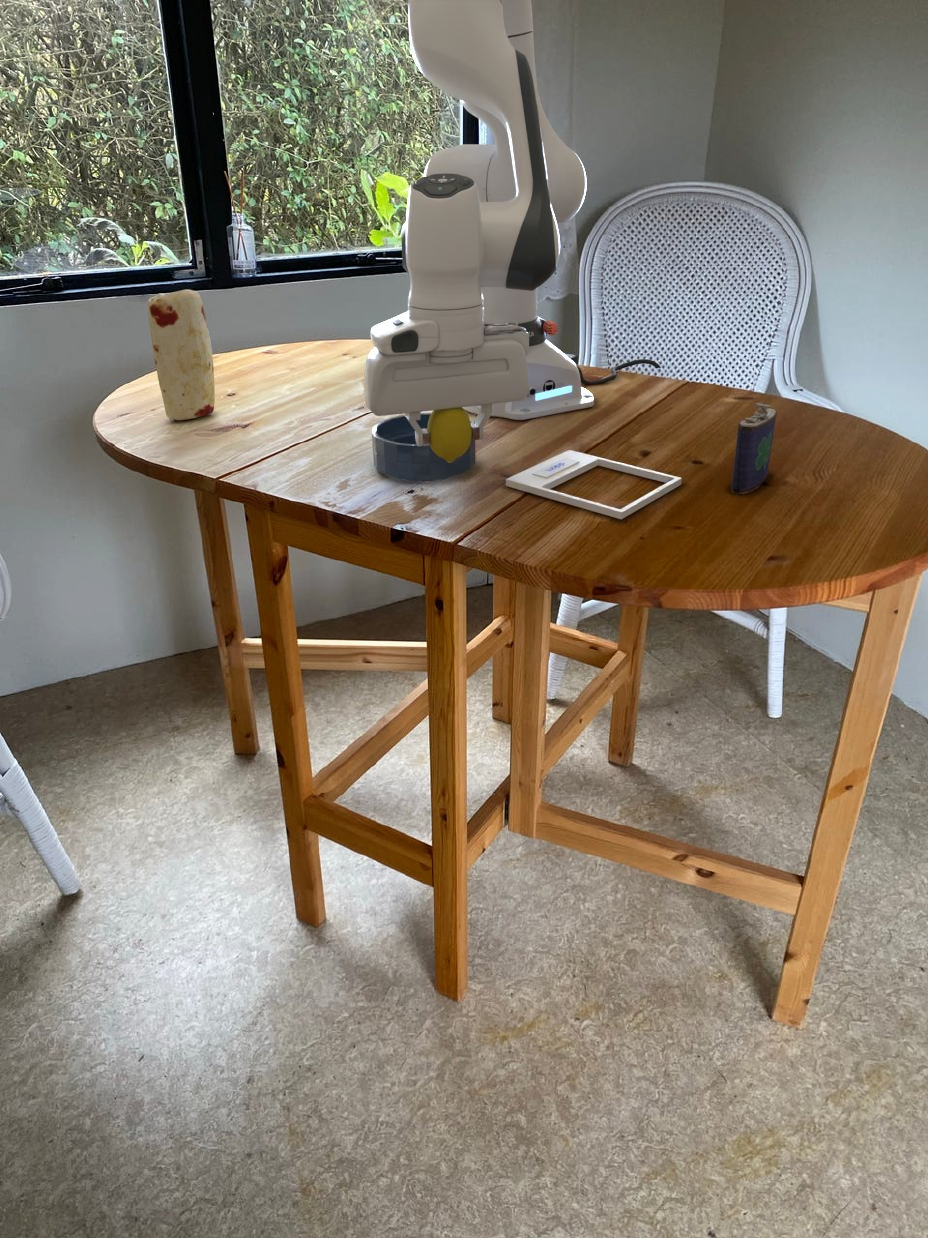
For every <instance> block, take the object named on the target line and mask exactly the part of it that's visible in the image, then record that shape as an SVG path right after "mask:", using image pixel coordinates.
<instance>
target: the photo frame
mask: <svg viewBox="0 0 928 1238" xmlns="http://www.w3.org/2000/svg"><path fill="white" fill-rule="evenodd" d="M598 466H599V467H604V468H607V469H611V470H615V471H618V472H622V473H626V474H631V475H634V476H638V477H641V478H646V479H650V480H654V481H658V482H662V483H664V484H662V485H660V486H658V487H657V488H655V489H654V490H652V491H649V492H648V493H647V494H644V495H642V496H641V497H639V498H638V499H636V500H634V501H632V502H629V504H626V505H625V506H623V507H621V508H616V507H613V506H610V505H607V504H602V503H600V502H597V501H596V502H595V501H592V500H588V499H584V498H581V497H578V496H574V495H571V494H568V493H563V492H560V491H556V490H554V489H553V488H556V487H557V486H559V485H561V484H564V483H565V482H568V481H569V480H571V479H573V478H576V477H578V476H579V475H582V474H584V473H586V472H588V471H589V470H592V469H593V468H596V467H598ZM682 480H683V478H682V477H679V476H675V475H672V474H667V473H664V472H659V471H656V470H652V469H648V468H643V467H639V466H635V465H631V464H627V463H623V462H619V461H615V460H611V459H607V458H603V457H600V456H596V455H591V454H588V453H584V452H580V451H576V450H571V449H569V450H568V449H567V450H566V451H564V452H562V453H559V454H557V455H555V456H553V457H551V458H549V459H546V460H543V461H542V462H540V463H538V464H536V465H532V466H531V467H529V468H527V469H525V470H522V471H521V472H518V473H516V474H513V475H512V476H510V477H507V478H505V486H506V487H509V488H512V489H514V490H515V489H516V490H519V491H522V492H526V493H528V494H529V493H530V494H532V495H536V496H540V497H543V498H546V499H549V500H554V501H557V502H560V503H562V504H563V503H564V504H567V505H570V506H573V507H576V508H577V507H578V508H581V509H585V510H588V511H590V512H594V513H598V514H601V515H605V516H609V517H612V518H615V519H618V520H623V519H625V518H626V517H628V516H630V515H632V514H633V513H635V512H637V511H638V510H640V509H642V508H643V507H645V506H647V505H649V504H651V503H652V502H654V501H656V500H657V499H659V498H661V497H662V496H665V495H666V494H668V493H669V492H672V491H673V490H674V489H676V488H678V487H679V486H681V485H682Z"/></svg>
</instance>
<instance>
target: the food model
mask: <svg viewBox="0 0 928 1238" xmlns="http://www.w3.org/2000/svg"><path fill="white" fill-rule="evenodd" d="M201 297H202V296H201V295H200V293H199V292H198V291H196V290H193V289H182V290H176V291H173V292H170V293H167V294H165V293H158V294H157V295H154V296H151V297H150V298H149V299H148V301H147V312H148V322H149V330H150V337H151V338H150V339H151V345H152V353H153V360H154V364H155V368H156V374H157V380H158V385H159V388H160V393H161V397H162V401H163V407H164V412H165V415H166V417H167V418H168V420H170V421H171V420H176V421H184V420H185V421H186V420H191V419H196V418H200V417H204V416H208V415H209V416H210V415H211V414H212V413H213V412H214V410H215V402H216V401H215V399H216V391H215V390H216V389H215V387H216V386H215V385H216V384H215V368H214V355H213V348H212V343H211V337H210V332H209V331H210V330H209V326H208V323H207V319H206V314H205V309H204V305H203V304H204V303H203V301H202V298H201Z"/></svg>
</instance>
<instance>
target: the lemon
mask: <svg viewBox="0 0 928 1238" xmlns="http://www.w3.org/2000/svg"><path fill="white" fill-rule="evenodd" d="M430 413H431V415H430V417H429V421H428V427H427V430H428V431H429V432H430V439H429V440H430V447H431V449H432V450H433V452H434V453H435V454H436V455H437V456H439V457H441V458H444V459H445V460H446V461H447V462H448V463H452V462H453V461H454V460H455V459H456V458H458V457H460V456H462V455H463V454H464V453H465V452H466V451H467V449H468V448H469V445H470V442H471V436H472V430H471V423H470V421H471V419H470V416H469V414H468V411H466V410H464V409H463V408H462V407H460V408H450V409H441V410H432V411H431V412H430Z"/></svg>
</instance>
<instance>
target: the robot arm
mask: <svg viewBox="0 0 928 1238" xmlns="http://www.w3.org/2000/svg"><path fill="white" fill-rule="evenodd" d="M407 3H408V6H407V7H408V8H407V9H408V10H407V11H408V12H407V14H408V15H407V16H408V34H409V35H408V36H409V44H410V52H411V56H412V59H413V60H414V63H415V65H416V66H417V69H418V70H419V71H420V72H421V74H422V75H423V76H424V77H425V78H426V80H428V82H430V83H431V84H432V85H433V86H435V87H436V88H437V89H439V90H440V91H442V92H443V93H445V94H447V95H449V96H451V97H452V98H455V99H458V100H460V102H461V105H462V106H463V108H464V109H465V110H466V111H467V112H468V113H469V114H471V115H472V116H474V117H475V118H477V119H478V120H480V121H481V122H483V123H484V124H485V126H486V127H487V128H488V130H489V131H490V132H491V134H492V137H493V139H494V141H495V144H490V143H489V144H487V143H486V144H483V143H482V144H480V143H479V144H476V143H475V144H474V143H471V144H470V143H467V144H466V143H465V144H460V145H459V144H458V145H455V146H450V147H446V148H444V149H439V150H437V151H435V152H434V153H433V154H432V155H431V156H430V158H429V159H428V162H427V164H426V166H425V168H424V171H423V176H421V177H419V178H417V179H415V180H414V181H413V182H412V183H411V184H410V185H409V189H408V196H407V203H406V216H405V217H406V218H405V222H404V223H403V225H402V227H401V234H400V235H401V236H400V237H401V256H402V257H401V258H402V268H403V269H404V270H405V271H406V272H407V274H408V275H409V283H410V286H409V292H408V296H407V311H405V312H403V313H401V314H398V315H397V316H394V317H391V318H389V319H387V320H385V321H382V322H380V323H378V324H375V325H374V326H372V327H371V329H370V331H369V332H370V333H369V335H370V340H371V343H372V345H373V346H374V347H373V348H372V349H371V350H370V351H369V353H368V355H367V357H366V361H365V368H364V379H363V380H364V383H363V384H364V391H363V392H364V393H363V394H364V403H365V405H366V408H367V409H368V410H369V412H371V413H372V414H373V415H374V416H376V417H384V416H393V415H406V418H407V420H408V421H409V423H410V424H411V426H412V427H413V429H414V430H415V440H416V444H417V445H418V447H421V446H428V445H430V440H429V439H430V432H429V431H428V430H427V429H426V428H424V429H421V428H420V426H419V425H418V423H417V422H416V420H420V419H421V415H420V413H423V412H432V411H433V410H441V409H450V408H460V407H462V408H463V409H464V410H465V411H466V412H469V413H472V414H476V415H477V416H476V417H475V419H474V421H473V422H472V423H471V430H472V436H471V440H475V441H480V440H483V439H484V427H485V426H486V425H487V422H488V421H489V419H490V417H499V418H505V419H509V420H514V421H524V420H529V419H535V418H540V417H545V416H550V415H556V414H561V413H566V412H572V411H577V410H582V409H587V408H591V407H594V405H595V397H594V395H593V393H592V392H590V391H589V390H588V389H586V388H584V387H583V386H582V385H585V386H598V385H603V384H606V383H608V382H611V381H613V380H616V379H617V375H618V374H617V371H620V370H623V369H626V368H628V367H632V366H635V365H642V364H644V365H645V364H646V365H650V366H653V368H655V369H661V368H662V367H661V365H660V364H659V363H658V362H656V361H655V360H652V359H648V358H641V359H639V358H638V359H635V360H630V361H627V362H624V363H622V364H618V365H615V366H613V367H612V368H611V371H610V373H611V375H609V376H606V377H603V378H601V379H597V380H587V379H585V378H584V375H583V371H582V369H581V367H580V366H579V363H578V362H579V361H578V360H579V356H578V355H576V354H570V353H564V352H563V351H562V350H561V349H559V348H558V347H556V346H555V345H554V344H553V343H552V342H550V341H549V340H548V337H547V336H552V337H553V336H555V335H557V333H558V332H559V325H558V324H557V323H556V322H553V321H552V320H545V319H544V318H541V317H540V316H538V288H540V286H542V285H543V284H544V283H546V282H547V281H548V280H549V279H550V278H551V277H552V276H553V275H554V274H555V273H556V271H557V266H558V263H559V261H560V253H561V240H560V232H559V226H558V224H561V223H566V222H569V221H571V220H572V219H573V218H574V217H575V216H576V215H577V213H578V212H579V211H580V209H581V207H582V205H583V203H584V201H585V196H586V192H587V175H586V171H585V167H584V164H583V162H582V161H581V159H580V157H579V156H578V154H577V153H576V152H575V151H573V149H571V148H570V147H569V146H568V145H566V143H565V142H563V140H562V139H561V138H560V137H559V135H558V134H557V132H556V131H555V130H554V128H553V127H552V125H551V123H550V121H549V120H548V119H549V118H548V117H547V115H546V113H545V110H544V108H543V105H542V101H541V98H540V94H539V87H538V79H537V70H536V61H535V60H536V57H535V39H534V38H535V36H534V19H533V8H532V7H533V6H532V0H408V1H407Z"/></svg>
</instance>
